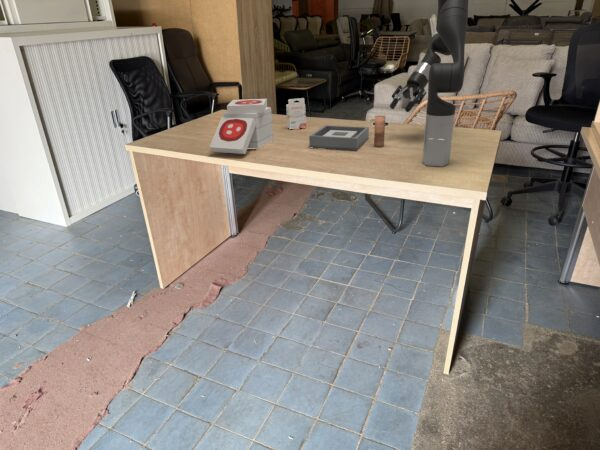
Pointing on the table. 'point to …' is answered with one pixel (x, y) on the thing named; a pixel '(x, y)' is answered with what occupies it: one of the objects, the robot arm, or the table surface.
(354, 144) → the open box
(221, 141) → the stack of white boxes
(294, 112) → the ink cartridge box
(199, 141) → the table surface
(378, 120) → the peg
